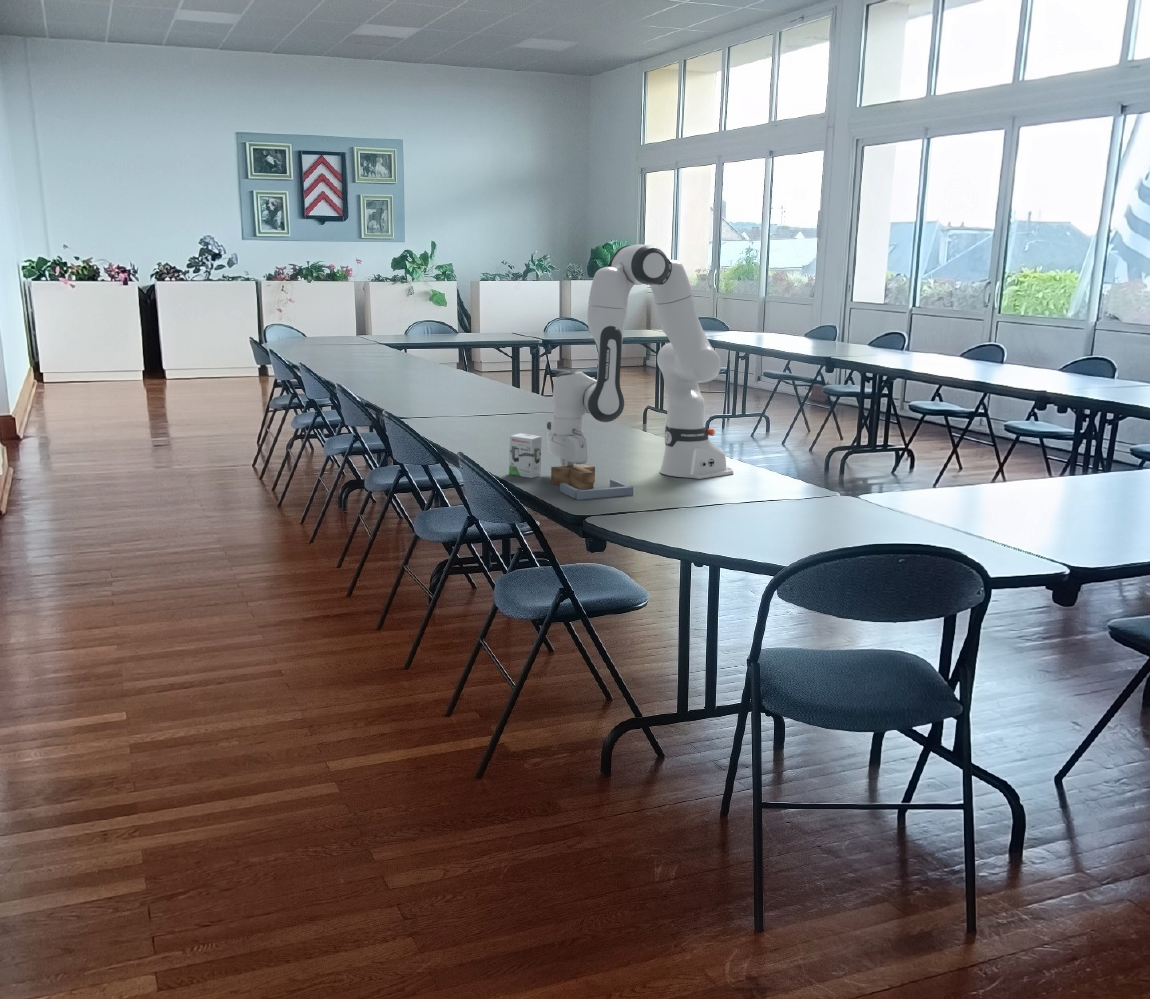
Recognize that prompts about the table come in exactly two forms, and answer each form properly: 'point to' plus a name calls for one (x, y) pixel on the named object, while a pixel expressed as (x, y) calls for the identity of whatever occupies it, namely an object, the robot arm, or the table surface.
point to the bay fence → (598, 491)
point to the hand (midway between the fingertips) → (566, 473)
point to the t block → (574, 475)
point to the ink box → (525, 455)
